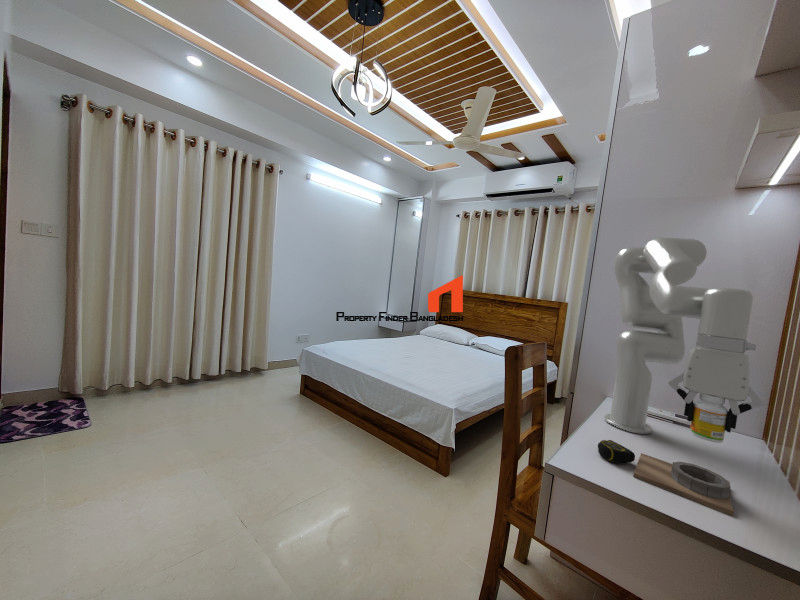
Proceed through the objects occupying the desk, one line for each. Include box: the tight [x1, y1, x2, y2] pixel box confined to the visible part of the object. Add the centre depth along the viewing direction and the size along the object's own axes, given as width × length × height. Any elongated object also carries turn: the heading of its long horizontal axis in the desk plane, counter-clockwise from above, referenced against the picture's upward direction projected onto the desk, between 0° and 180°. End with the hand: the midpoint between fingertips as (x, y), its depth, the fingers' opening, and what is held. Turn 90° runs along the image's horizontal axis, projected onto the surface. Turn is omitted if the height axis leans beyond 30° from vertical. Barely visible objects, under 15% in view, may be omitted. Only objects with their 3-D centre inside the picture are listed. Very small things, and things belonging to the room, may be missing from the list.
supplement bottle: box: [689, 393, 729, 444], centre depth 70 cm, size 5×5×10 cm
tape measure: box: [597, 439, 636, 465], centre depth 81 cm, size 7×7×4 cm
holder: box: [633, 452, 734, 517], centre depth 73 cm, size 14×16×4 cm
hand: (707, 424), depth 70 cm, fingers closed on supplement bottle, 5 cm apart
